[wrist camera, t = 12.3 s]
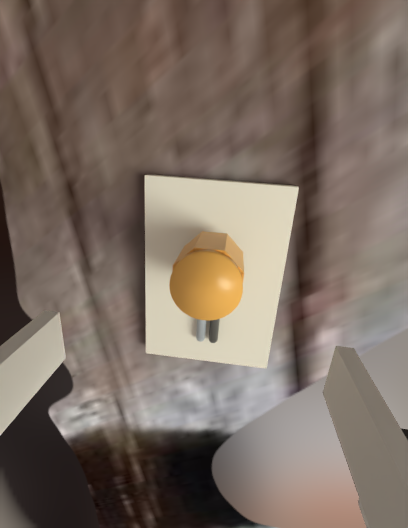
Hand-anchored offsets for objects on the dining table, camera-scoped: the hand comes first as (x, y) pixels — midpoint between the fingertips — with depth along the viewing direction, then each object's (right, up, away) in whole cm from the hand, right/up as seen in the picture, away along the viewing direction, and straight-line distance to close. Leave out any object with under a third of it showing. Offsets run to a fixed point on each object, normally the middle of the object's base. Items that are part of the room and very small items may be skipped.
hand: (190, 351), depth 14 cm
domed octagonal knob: (+1, +5, +13) cm, 14 cm away
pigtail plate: (+2, +3, +17) cm, 17 cm away
